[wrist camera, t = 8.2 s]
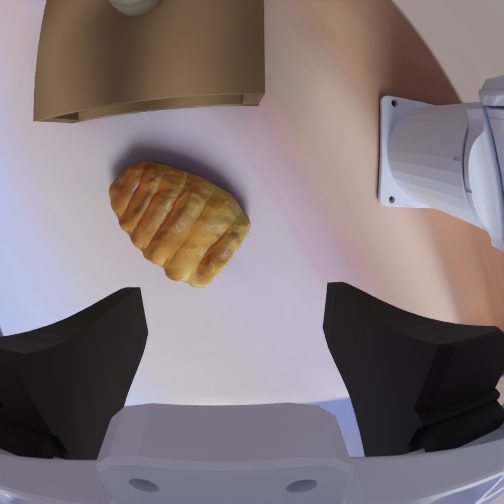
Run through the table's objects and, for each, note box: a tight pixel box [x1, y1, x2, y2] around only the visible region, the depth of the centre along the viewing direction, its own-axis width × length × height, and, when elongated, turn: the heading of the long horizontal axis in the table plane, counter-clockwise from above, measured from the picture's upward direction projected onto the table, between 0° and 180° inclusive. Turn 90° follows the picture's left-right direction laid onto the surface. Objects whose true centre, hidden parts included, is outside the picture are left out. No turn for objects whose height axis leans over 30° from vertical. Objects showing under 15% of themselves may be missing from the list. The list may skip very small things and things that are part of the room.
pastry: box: [109, 161, 250, 288], centre depth 19 cm, size 9×7×4 cm
